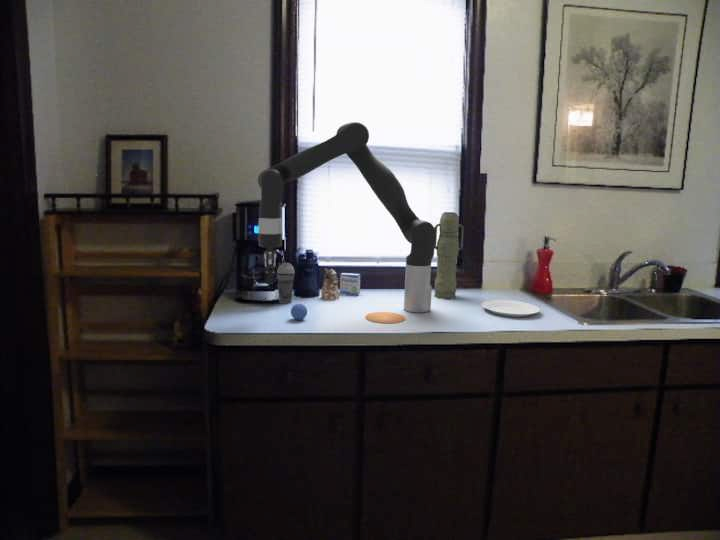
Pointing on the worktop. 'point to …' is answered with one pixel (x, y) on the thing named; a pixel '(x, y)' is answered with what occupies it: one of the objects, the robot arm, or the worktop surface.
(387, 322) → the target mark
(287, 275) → the beverage cup
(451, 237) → the thermos
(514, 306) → the plate
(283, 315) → the worktop surface
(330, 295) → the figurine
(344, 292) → the medicine box
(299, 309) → the ball
